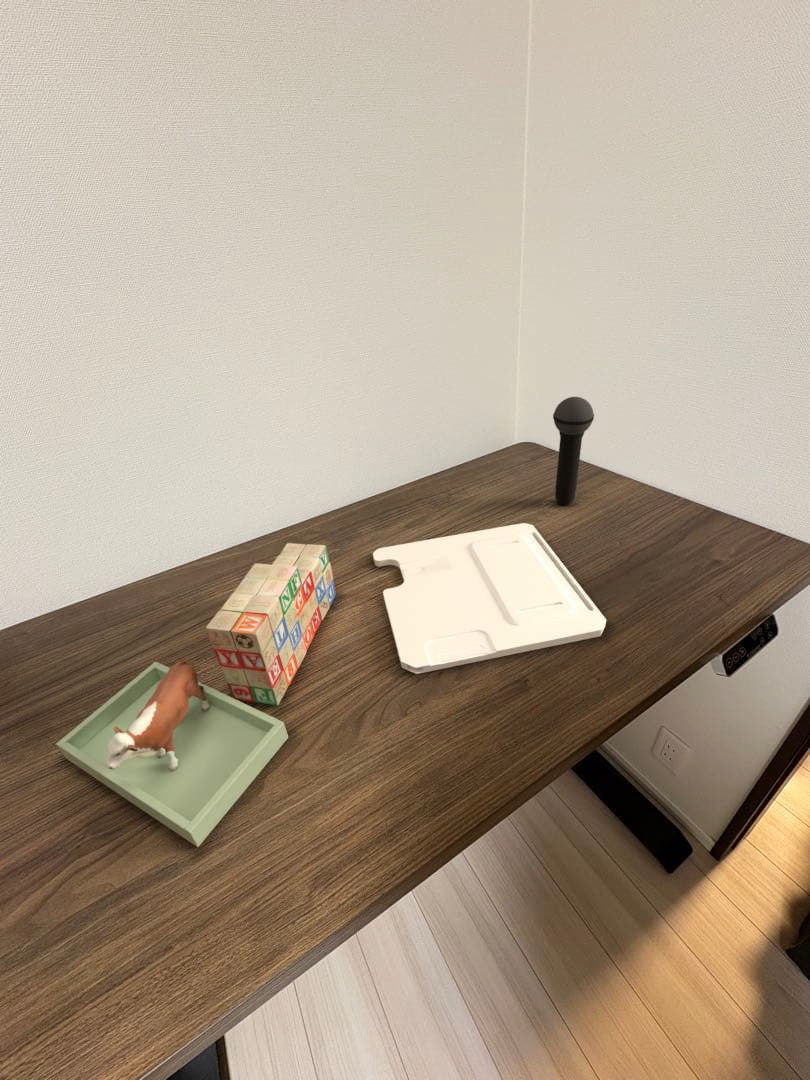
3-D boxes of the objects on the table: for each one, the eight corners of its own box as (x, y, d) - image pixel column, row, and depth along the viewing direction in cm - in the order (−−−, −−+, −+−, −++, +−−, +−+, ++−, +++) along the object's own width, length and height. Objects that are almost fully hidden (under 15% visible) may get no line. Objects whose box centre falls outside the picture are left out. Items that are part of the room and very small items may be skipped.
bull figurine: (121, 796, 55) (86, 751, 51) (191, 693, 66) (167, 647, 61) (157, 804, 54) (125, 758, 50) (222, 697, 65) (200, 651, 60)
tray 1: (65, 758, 60) (55, 743, 59) (162, 675, 70) (155, 661, 68) (198, 847, 51) (189, 832, 49) (288, 737, 60) (284, 722, 59)
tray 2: (404, 676, 66) (403, 668, 66) (372, 553, 90) (371, 546, 89) (611, 633, 70) (612, 625, 69) (528, 526, 93) (529, 518, 92)
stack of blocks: (299, 591, 83) (283, 524, 76) (337, 594, 81) (324, 527, 74) (232, 700, 65) (203, 626, 59) (278, 707, 64) (254, 632, 57)
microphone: (540, 506, 98) (548, 401, 87) (554, 491, 103) (563, 389, 92) (575, 514, 95) (587, 407, 84) (588, 498, 99) (602, 394, 88)
